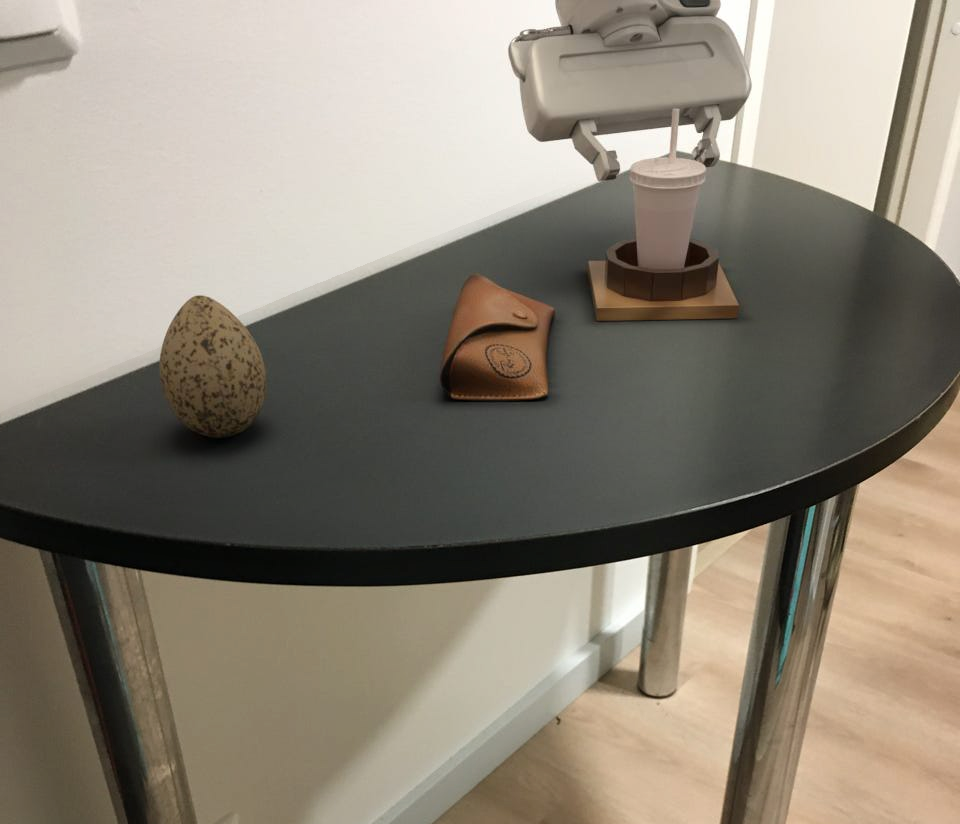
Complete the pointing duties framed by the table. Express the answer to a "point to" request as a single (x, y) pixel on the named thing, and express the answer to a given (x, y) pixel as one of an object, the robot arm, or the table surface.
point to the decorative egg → (212, 370)
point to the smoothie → (665, 205)
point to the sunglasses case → (496, 345)
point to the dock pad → (660, 286)
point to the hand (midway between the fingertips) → (660, 170)
